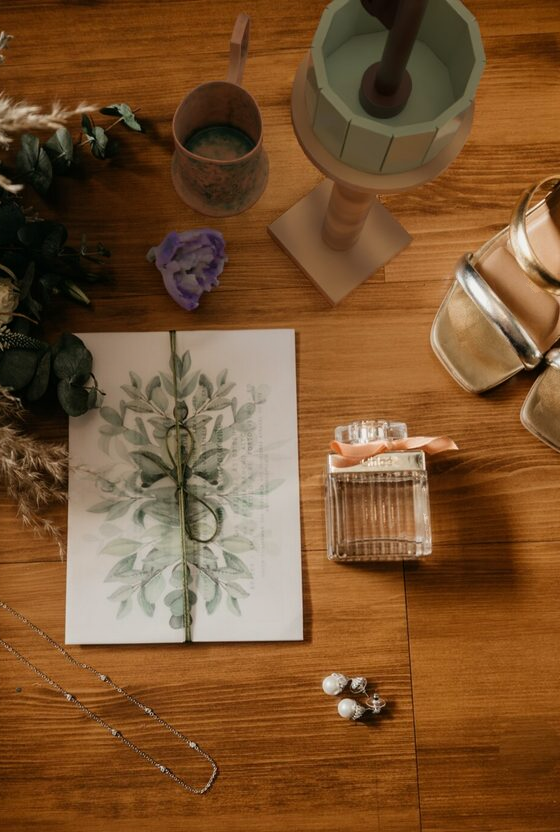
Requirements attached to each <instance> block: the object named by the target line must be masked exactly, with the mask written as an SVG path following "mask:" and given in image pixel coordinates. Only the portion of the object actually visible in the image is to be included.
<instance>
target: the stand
mask: <svg viewBox="0 0 560 832" xmlns="http://www.w3.org/2000/svg"><path fill="white" fill-rule="evenodd" d="M309 54H310V48H309V49H308V50H307V51H306V53H305V54H304V56H303V58H302V59H301V60H300V62H299V65H298V67H297V70H296V71H295V75H294V78H293V81H292V87H291V93H290V101H289V103H290V105H289V107H290V108H289V109H290V113H289V114H290V120H291V125H292V129H293V133H294V136H295V139H296V141H297V143H298V145H299V147H300V149H301V150H302V152H303V154H304V156H306V158H307V159H308V160H309V162H310V163H311V165H312V166H314V168H315V169H317V170H318V171H319V172H320V173H321V174H322V175H324V176H325V177H326V178H325V179H324V180H323V181H322V182H320V183H319V184H318V185H317V186H315V187H314V188H313V189H312V190H310V191H309V192H308V193H306V194H305V195H304V196H303V197H302V198H301V199H300V200H298V201H297V202H296V203H294V204H293V205H292V206H291V207H290V208H289V209H287V210H286V211H284V212H283V213H282V214H281V215H279V216H278V217H277V218H276V219H275V220H273V222H271V223H270V224H269V225H267V229H266V233H267V234H268V235H269V237H271V239H272V240H273V241H274V242H275V243H276V244H277V245H278V247H279V248H280V249H281V250H282V251H283V253H285V254H286V256H287V257H288V258H289V259H290V260H291V262H292V263H293V264H294V265H295V266H296V267H297V268H298V269H299V271H300V272H301V273H302V274H303V275H304V276H305V277H306V278H307V279H308V281H309V282H310V283H311V284H312V285H313V286H314V288H315V289H316V290H317V291H318V292H319V293H320V294H321V295H322V296H323V298H324V299H325V300H326V301H327V302H328V303H329V304H330V305H331V307H332V308H335V307H337V306H338V305H340V303H341V302H343V301H344V300H345V299H346V298H347V297H349V296H350V295H351V294H352V293H353V292H355V291H356V290H357V289H358V288H360V287H361V286H362V285H363V284H365V283H366V282H367V281H368V280H369V279H370V278H372V277H373V276H374V275H375V274H376V273H378V272H379V271H380V270H382V269H383V268H384V267H385V266H386V265H387V264H388V263H390V262H391V261H392V260H393V259H394V258H396V257H397V256H398V255H399V254H401V253H402V252H403V251H404V250H405V249H407V248H408V247H409V246H410V245H412V243H413V240H414V237H413V236H412V235H411V234H410V233H409V232H408V230H406V228H405V227H404V226H403V225H402V224H401V222H399V221H398V219H397V218H396V217H395V216H394V215H393V214H392V213H391V211H389V209H387V207H386V206H385V205H384V204H383V203H382V202H381V201H380V199H379V198H378V197H377V196H389V195H398V194H403V193H407V192H411V191H414V190H416V189H419V188H422V187H424V186H425V185H427V184H429V183H432V182H433V181H434V180H436V179H437V178H438V177H439V176H441V175H442V174H443V173H444V172H445V171H447V170H448V169H449V168H450V167H451V165H452V164H453V163H454V162H455V160H456V159H457V158H458V157H459V155H460V153H461V152H462V149H463V148H464V146H465V144H466V142H467V140H468V139H469V135H470V133H471V131H472V128H473V127H472V126H473V125H474V124H473V123H474V118H475V110H476V97H475V96H474V99H473V102H472V103H471V105H470V107H469V109H468V111H467V113H466V115H465V117H464V119H463V121H462V123H461V124H460V126H459V128H458V130H457V132H456V134H455V136H454V138H453V139H452V141H451V142H450V143H448V144H447V145H446V146H445V147H444V148H443V150H442V151H441V152H440V153H439V154H438V155H437V156H435V157H434V158H433V159H431V160H430V161H429V162H427V163H426V164H424V165H422V166H420V167H418V168H416V169H413V170H410V171H407V172H403V173H399V174H390V175H379V174H371V173H366V172H363V171H359V170H356V169H354V168H351V167H349V166H347V165H345V164H344V163H342V162H340V161H339V160H337V159H336V158H335V157H334V156H332V155H331V154H330V153H329V152H328V151H327V150H326V149H325V148H324V147H323V145H322V144H321V143H320V142H319V140H318V139H317V137H316V135H315V133H314V132H313V129H312V127H311V125H310V122H309V118H308V115H307V108H306V97H305V92H304V90H305V82H306V75H307V68H308V61H309Z"/></svg>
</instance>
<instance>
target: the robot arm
mask: <svg viewBox="0 0 560 832" xmlns="http://www.w3.org/2000/svg"><path fill="white" fill-rule="evenodd" d="M360 2H361V4H362V6H363V8H364V9H365V10H366V11H367V12H368V13H369V14H370V15H371V16H373V17H376V18H377V19H378V20H379V21H380V22H381V23H382V24H383V25H384V26H385V28H386V29H388V30H392V29H393V28H394V27H395V26H396V25H398V22H399V19H400V16H401V12H402V9H403V5H404V2H405V0H360Z"/></svg>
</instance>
